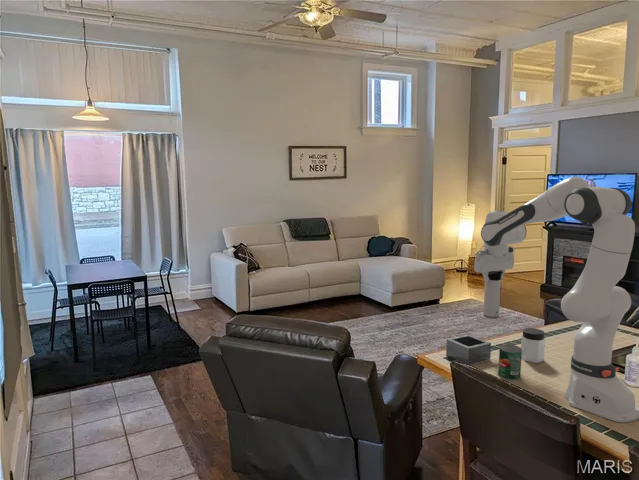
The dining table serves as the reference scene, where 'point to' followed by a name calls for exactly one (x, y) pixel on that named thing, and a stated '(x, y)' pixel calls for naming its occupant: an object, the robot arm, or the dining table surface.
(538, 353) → the jar
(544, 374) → the dining table surface
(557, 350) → the dining table surface
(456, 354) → the grey square open box
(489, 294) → the travel mug
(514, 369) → the canned tomato
